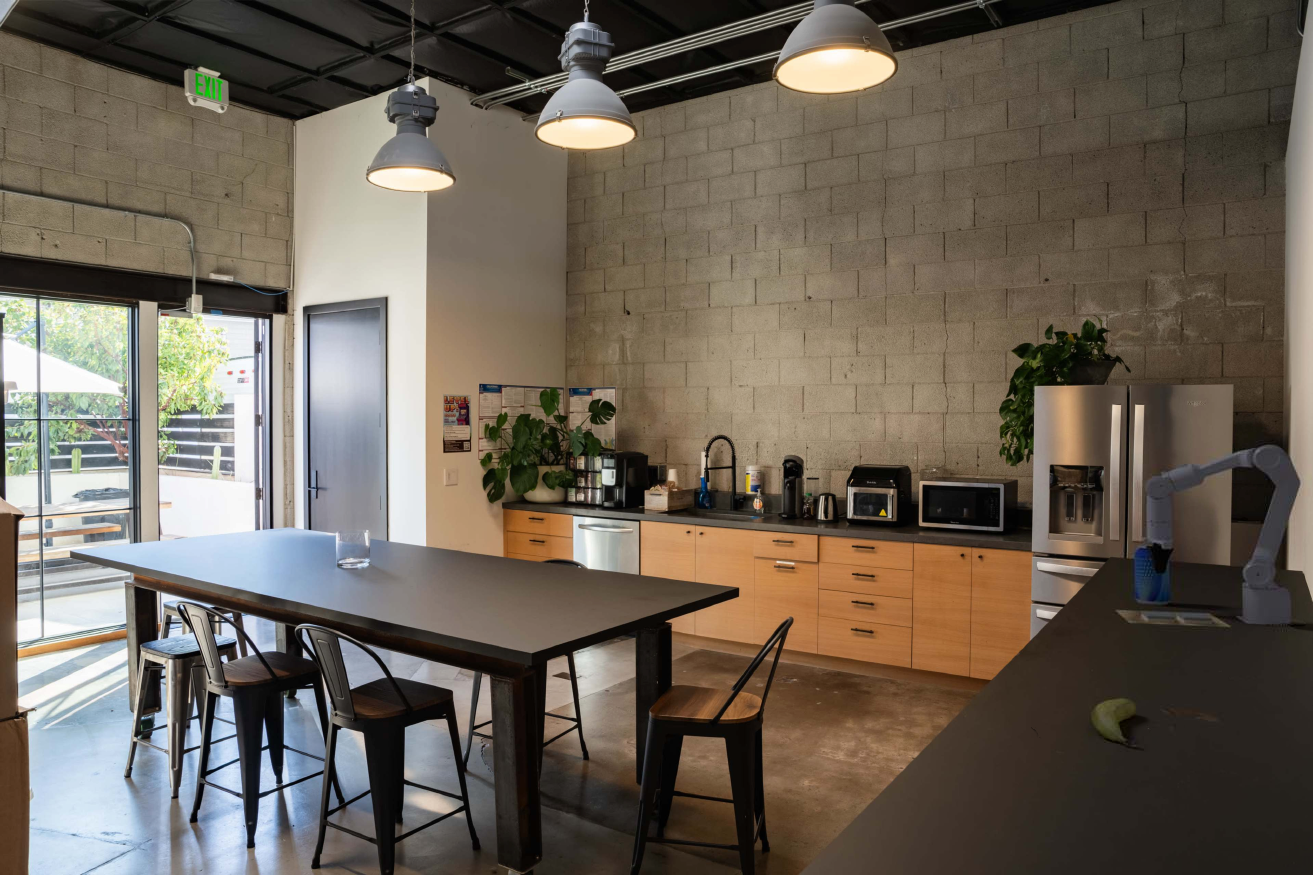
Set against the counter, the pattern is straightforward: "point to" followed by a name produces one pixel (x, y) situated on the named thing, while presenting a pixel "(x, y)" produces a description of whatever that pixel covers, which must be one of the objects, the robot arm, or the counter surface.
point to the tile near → (1194, 618)
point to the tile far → (1158, 616)
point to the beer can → (1150, 580)
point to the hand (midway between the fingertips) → (1159, 573)
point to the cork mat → (1137, 618)
